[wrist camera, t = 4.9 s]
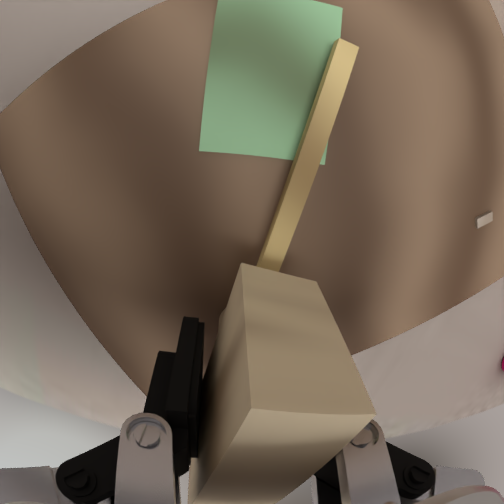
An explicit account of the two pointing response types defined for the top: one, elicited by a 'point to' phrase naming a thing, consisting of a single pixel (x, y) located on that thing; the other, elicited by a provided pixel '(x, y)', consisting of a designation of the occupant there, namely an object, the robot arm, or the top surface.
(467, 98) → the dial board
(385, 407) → the top surface
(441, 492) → the robot arm
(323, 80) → the wooden mallet
